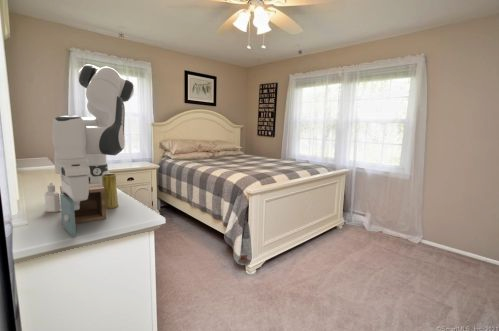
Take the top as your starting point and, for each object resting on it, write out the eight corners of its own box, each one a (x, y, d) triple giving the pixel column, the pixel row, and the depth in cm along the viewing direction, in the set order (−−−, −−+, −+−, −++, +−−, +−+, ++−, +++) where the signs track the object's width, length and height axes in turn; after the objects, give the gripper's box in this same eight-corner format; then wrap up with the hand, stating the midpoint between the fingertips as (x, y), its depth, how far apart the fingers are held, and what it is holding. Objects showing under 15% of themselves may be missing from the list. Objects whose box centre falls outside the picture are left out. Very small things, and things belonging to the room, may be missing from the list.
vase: (111, 209, 112) (109, 176, 110) (99, 208, 113) (97, 175, 111) (121, 205, 118) (119, 173, 116) (109, 204, 119) (107, 173, 117)
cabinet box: (62, 216, 102) (60, 186, 100) (100, 210, 110) (98, 182, 108) (64, 225, 93) (62, 192, 91) (106, 218, 101) (104, 188, 99)
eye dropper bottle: (47, 213, 104) (45, 184, 103) (45, 210, 108) (43, 181, 107) (61, 211, 108) (58, 182, 106) (58, 208, 111) (56, 180, 110)
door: (65, 224, 92) (63, 193, 90) (76, 235, 83) (73, 201, 82) (58, 226, 90) (56, 194, 89) (68, 237, 82) (65, 202, 80)
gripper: (54, 164, 89) (57, 203, 91) (66, 171, 74) (70, 218, 76) (76, 162, 93) (78, 200, 95) (91, 169, 79) (94, 214, 81)
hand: (75, 208), depth 86 cm, fingers closed
